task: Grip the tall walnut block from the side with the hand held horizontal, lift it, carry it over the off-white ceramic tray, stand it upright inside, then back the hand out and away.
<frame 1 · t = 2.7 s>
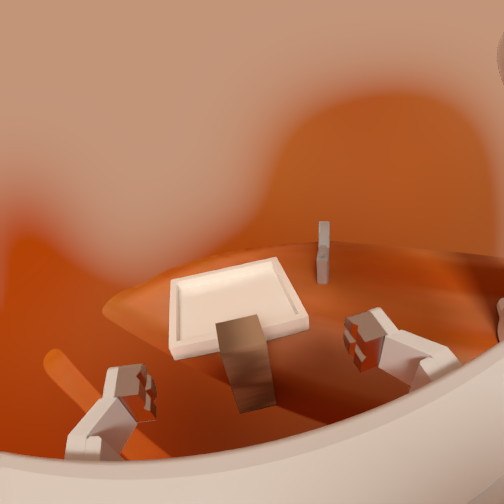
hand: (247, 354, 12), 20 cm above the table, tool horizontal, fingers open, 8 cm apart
walnut block: (254, 395, 32), on the table
lighter: (324, 272, 51), on the table
tray: (232, 309, 46), on the table
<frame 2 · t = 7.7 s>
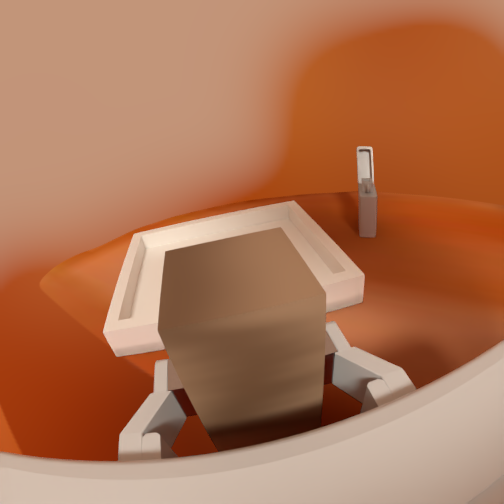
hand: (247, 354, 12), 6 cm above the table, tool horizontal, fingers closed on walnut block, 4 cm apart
walnut block: (267, 435, 13), on the table, touching gripper
lighter: (366, 224, 33), on the table
tray: (226, 273, 27), on the table
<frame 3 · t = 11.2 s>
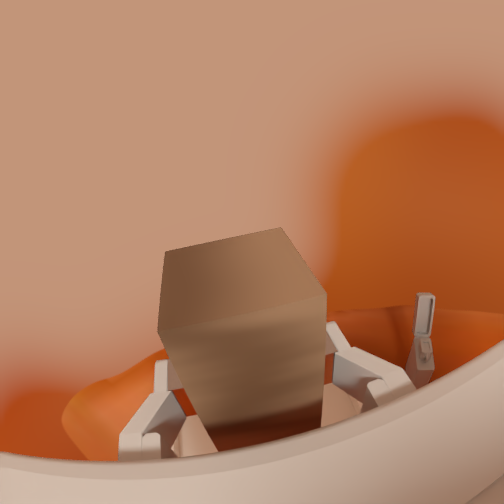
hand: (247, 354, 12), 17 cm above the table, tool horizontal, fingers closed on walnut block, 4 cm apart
walnut block: (267, 436, 13), point 11 cm above the table, touching gripper
lighter: (412, 370, 27), on the table
tray: (273, 453, 22), on the table
when the fingers open (8 cm above the table, at t = 14.5 s): walnut block drops 1 cm, resting on tray.
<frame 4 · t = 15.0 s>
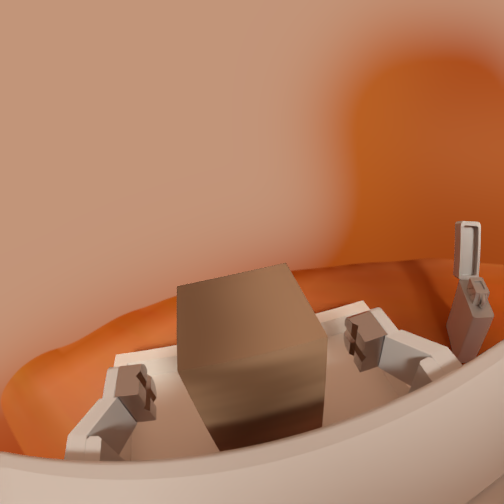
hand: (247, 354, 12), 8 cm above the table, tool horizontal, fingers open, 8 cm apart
walnut block: (270, 446, 14), point 1 cm above the table, touching tray
lighter: (455, 330, 20), on the table
tray: (270, 451, 15), on the table
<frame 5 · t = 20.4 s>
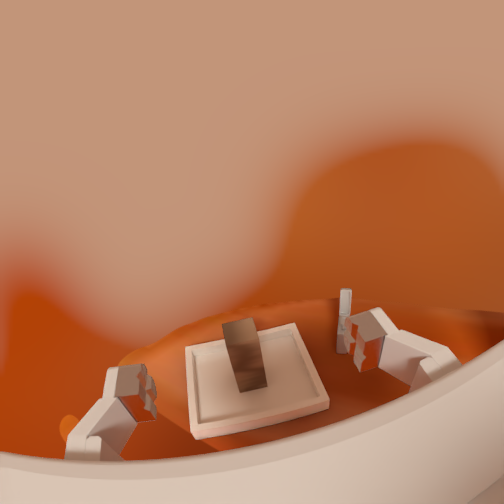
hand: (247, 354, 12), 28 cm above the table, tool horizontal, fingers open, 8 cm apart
walnut block: (251, 379, 42), point 1 cm above the table, touching tray
lighter: (343, 338, 48), on the table
tray: (251, 382, 43), on the table
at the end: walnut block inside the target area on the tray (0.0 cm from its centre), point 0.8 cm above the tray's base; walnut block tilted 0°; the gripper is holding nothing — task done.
